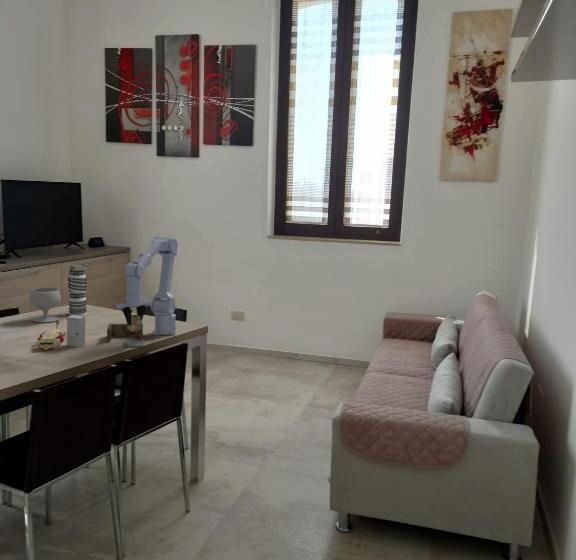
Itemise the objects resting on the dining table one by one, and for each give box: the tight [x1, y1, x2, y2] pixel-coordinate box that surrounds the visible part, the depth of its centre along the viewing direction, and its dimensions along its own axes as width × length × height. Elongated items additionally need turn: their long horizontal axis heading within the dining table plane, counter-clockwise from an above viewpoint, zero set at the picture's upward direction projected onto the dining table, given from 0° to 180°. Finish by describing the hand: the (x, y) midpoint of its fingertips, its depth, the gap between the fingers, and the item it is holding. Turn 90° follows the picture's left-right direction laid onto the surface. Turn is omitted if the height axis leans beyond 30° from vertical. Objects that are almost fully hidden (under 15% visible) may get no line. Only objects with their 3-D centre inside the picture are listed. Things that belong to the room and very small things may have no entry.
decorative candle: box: [67, 264, 88, 317], centre depth 280 cm, size 9×9×25 cm
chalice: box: [28, 287, 62, 323], centre depth 265 cm, size 14×14×15 cm
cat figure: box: [35, 318, 66, 351], centre depth 229 cm, size 10×9×25 cm
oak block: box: [127, 313, 142, 331], centre depth 230 cm, size 4×4×6 cm
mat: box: [123, 340, 145, 349], centre depth 231 cm, size 8×8×1 cm
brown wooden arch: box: [106, 322, 144, 343], centre depth 240 cm, size 14×10×6 cm
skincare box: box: [66, 315, 86, 348], centre depth 226 cm, size 6×4×12 cm
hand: (134, 324), depth 230 cm, fingers closed on oak block, 4 cm apart
